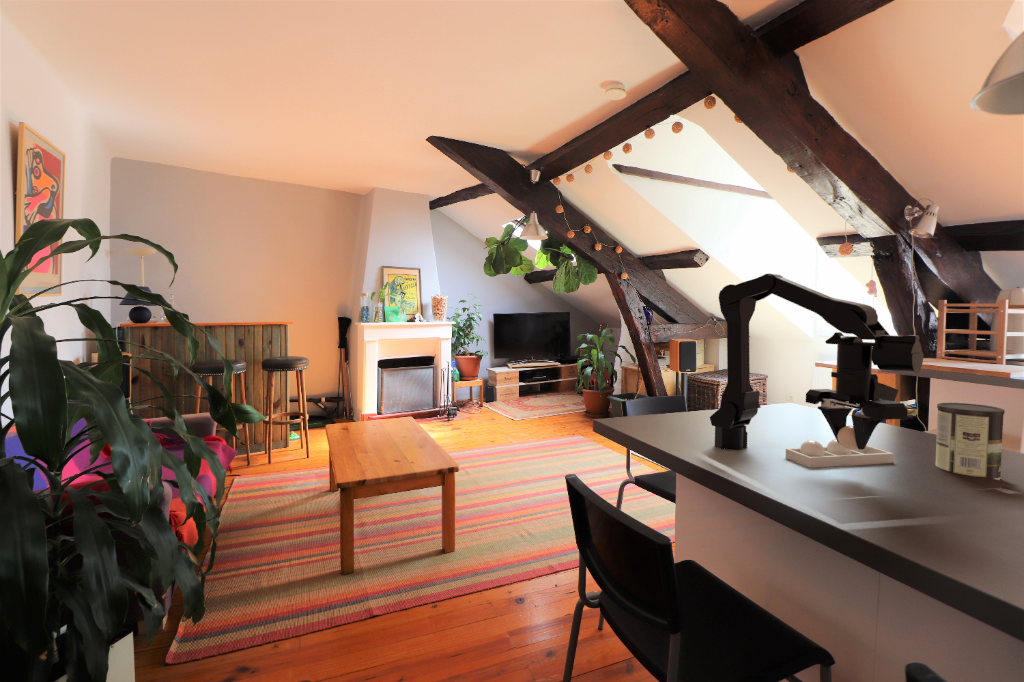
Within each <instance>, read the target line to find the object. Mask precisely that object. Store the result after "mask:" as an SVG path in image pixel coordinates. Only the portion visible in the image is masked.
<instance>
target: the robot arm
mask: <svg viewBox="0 0 1024 682" xmlns="http://www.w3.org/2000/svg"><path fill="white" fill-rule="evenodd" d="M770 295H774V296H777V297H779V298H782V299H784V300H785V301H788V302H791V303H793V304H795V305H797V306H798V307H799V306H800V307H802V308H804V309H806V310H808V311H811V312H813V313H814V314H817V315H818V316H820V317H821V318H822V320H824V321H825V322H826V323H827V324H828V325H831V327H833V328H835V329H836V330H837V332H834V333H833V334H832V336H831V337H829V338H828V339H826V340H825V344H827V345H828V344H829V345H837V349H836V350H837V351H836V370H835V371H831V372H830V377H831V378H835V390H834V389H830V388H818V389H817V388H815V389H814V388H811V389H808V391H807V392H806V393H805V403H808V404H812V405H818V404H819V403H820V405H819V406H817V409H818V410H820V412H821V413H822V415H823V417H824V418H825V420H826V421H827V424H828V425H829V428H830V430H831V432H832V434H833V435H834V437H835V439H836V440H837V442H838V443H839V441H838V438H837V435H838V432H839V430H840V429H841V428H843V427H845V426H847V419H848V416H849V414H850V413H851V412H852V411H853V409H856V410H859V411H860V414H851V419H852V420H851V421H852V426H853V427H854V433H855V439H856V443H857V447H858V449H860V450H863V449H865V447H866V445H867V444H868V443H869V441H870V439H871V437H872V434H873V433H874V431H875V430H876V427H877V426H878V425H879V424H880V423H881V422H883V421H888V420H907V419H908V411H909V410H908V407H907V406H906V405H905V403H904V402H899V401H898V402H897V401H896V399H897V396H898V394H899V389H897V388H894V387H892V386H890V385H886V384H885V383H882V382H879V377H878V374H877V373H872V368H873V367H872V366H873V365H874V366H877V368H878V370H880V371H889V372H890V371H891V372H902V373H903V372H904V373H912V374H913V373H917V374H918V373H919V372H921V369H922V367H923V363H924V352H923V349H922V348H923V347H922V344H921V342H920V335H918V334H917V335H916V334H915V335H914V334H909V335H908V334H907V335H890V333H889V332H888V330H887V329H886V328H885V327H884V326H883V325H882V324H881V323H880V321H879V319H878V317H879V316H878V314H877V310H876V309H875V308H874V307H872V306H870V305H868V304H865V303H859V302H856V301H850V300H844V299H840V298H835V297H831V296H829V295H827V294H824V293H822V292H820V291H817V290H814V289H812V288H810V287H807V286H805V285H802V284H800V283H797V282H795V281H793V280H790V279H788V278H785V277H783V275H781V274H778V273H765V274H763V275H761V276H758V277H755V278H753V279H749V280H747V281H744V282H743V281H741V282H739V283H738V284H727V285H725V286H724V287H723V288H722V289H721V290H720V291H719V293H718V302H719V309H720V312H721V315H722V316H723V318H724V320H725V322H726V323H725V324H726V352H727V353H726V357H727V358H726V359H727V361H726V363H727V364H726V365H727V368H726V369H727V370H726V371H727V372H726V373H727V376H726V377H727V378H726V379H727V382H726V386H725V388H724V389H723V392H722V394H721V397H720V405H719V408H718V409H717V410H716V411H715V412H714V413H712V414H711V415H710V416H709V419H710V425H711V426H712V427H714V447H716V448H718V449H721V450H729V451H730V450H731V451H741V450H743V449H746V448H748V431H747V426H748V425H750V423H751V421H752V419H753V418H755V416H756V415H757V413H758V410H759V409H760V408H761V404H760V395H761V392H760V390H754V388H753V387H752V385H751V381H750V380H751V377H750V376H751V374H750V368H751V366H750V321H751V320H752V317H753V315H754V313H755V311H756V305H757V302H759V301H762V300H764V299H765V298H768V297H769V296H770ZM844 334H847V335H848V336H847V335H844ZM849 334H852V335H854V336H850V335H849ZM864 340H867V341H868V340H869V341H870V340H871V341H870V342H867V341H864ZM872 340H874V342H872ZM872 363H873V365H872ZM867 446H868V445H867Z"/></svg>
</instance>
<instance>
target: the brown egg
mask: <svg viewBox="0 0 1024 682" xmlns="http://www.w3.org/2000/svg"><path fill="white" fill-rule="evenodd" d="M837 438H838V441H839V443H840V444H841V445H842V446H843V447H845V448H848V449H858V447H857V443H856V439H855V433H854V427H853V425H846V426H845V427H843V428H841V429H840V430H839V432H838V435H837Z"/></svg>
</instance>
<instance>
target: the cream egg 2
mask: <svg viewBox="0 0 1024 682" xmlns="http://www.w3.org/2000/svg"><path fill="white" fill-rule="evenodd" d="M826 447H827V452H829V453H832V454H835V455H851V452H852V450H851V449H848V448H845V447H843V446H842V445H841V444H840V443H838V442H837V440H836V438H835V439H834V438H833V439H832V440H830V441H829V442H828V443H827V445H826Z"/></svg>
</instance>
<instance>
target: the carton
mask: <svg viewBox="0 0 1024 682" xmlns="http://www.w3.org/2000/svg"><path fill="white" fill-rule="evenodd" d="M823 447H824V450H825V454H824V456H818V457H809V456H807V455H804V454H801V453H800V447H795V448H785V459H787V460H789V461H792V462H795V463H797V464H800V465H801V466H804V467H808V468H823V467H824V468H825V467H840V466H841V467H843V466H857V465H858V466H859V465H863V466H864V465H879V464H880V465H881V464H893V463H894V457H895V453H893V452H890V451H888V450H883V449H880V448H877V447H873V446H870V445H866V447H865V449H863V450H860V449H851V450H852V452H851V455H835V454H832V453H829V452H827V446H823Z"/></svg>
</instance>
